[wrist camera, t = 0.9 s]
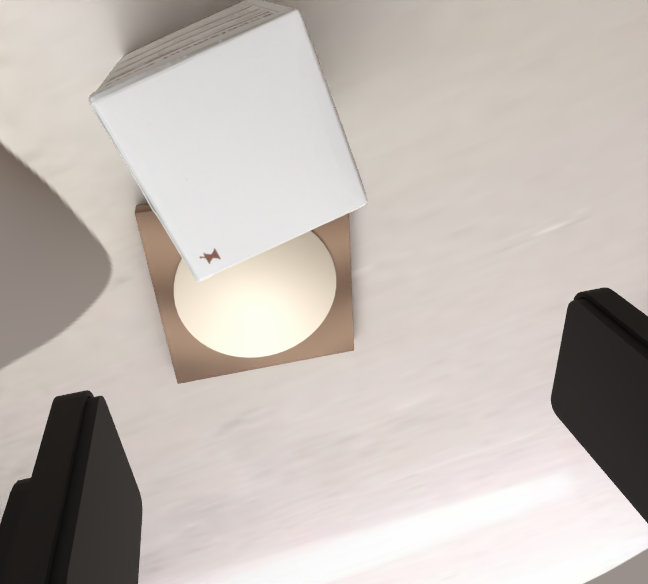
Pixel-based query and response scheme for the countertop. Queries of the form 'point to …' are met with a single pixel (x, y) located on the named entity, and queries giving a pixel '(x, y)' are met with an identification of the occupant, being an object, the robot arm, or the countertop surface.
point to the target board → (253, 302)
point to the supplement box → (231, 134)
